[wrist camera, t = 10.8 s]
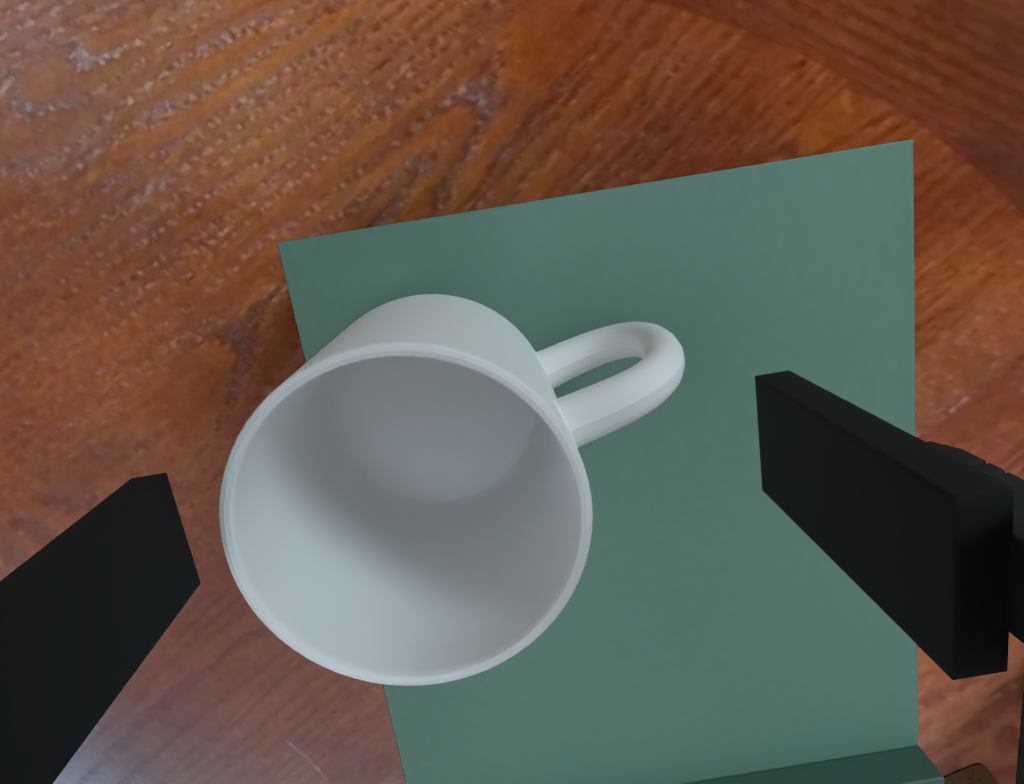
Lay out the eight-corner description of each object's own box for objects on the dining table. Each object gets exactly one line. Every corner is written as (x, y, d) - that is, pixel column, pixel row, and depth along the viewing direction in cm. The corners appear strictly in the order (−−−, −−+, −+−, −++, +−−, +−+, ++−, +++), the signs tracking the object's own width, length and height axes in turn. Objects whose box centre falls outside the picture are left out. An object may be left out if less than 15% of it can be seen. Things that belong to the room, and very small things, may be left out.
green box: (332, 234, 32) (260, 245, 22) (797, 159, 32) (948, 132, 22) (434, 703, 39) (417, 883, 28) (820, 640, 39) (945, 797, 28)
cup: (278, 352, 24) (142, 445, 15) (587, 202, 24) (664, 195, 14) (388, 543, 26) (333, 738, 17) (676, 412, 26) (798, 536, 16)
